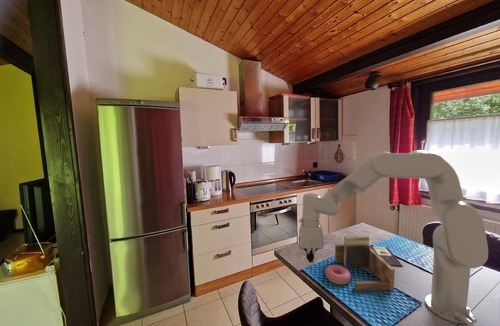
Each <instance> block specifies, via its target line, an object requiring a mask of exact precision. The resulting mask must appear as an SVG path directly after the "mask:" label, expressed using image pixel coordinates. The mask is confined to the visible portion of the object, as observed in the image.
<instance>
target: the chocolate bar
mask: <svg viewBox="0 0 500 326" xmlns="http://www.w3.org/2000/svg"><path fill="white" fill-rule="evenodd" d="M369 246H370V245H369ZM370 248H371V249H373V250H374V251H375V252H376V253H377V254H378V255H379V256H380V257H381V258H383V259H384V260H385V261H386V262H387V263H388V264H389V265H390V266H392V267H398V268H400V267H401V268H403V267H404V266H403V264H402V263H401V262H400V260H398V258H397V257H396V256H395V255H394V254H393V252H392V251H391V249H390V248H389V247H386V246H374V245H372V246H370Z"/></svg>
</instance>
